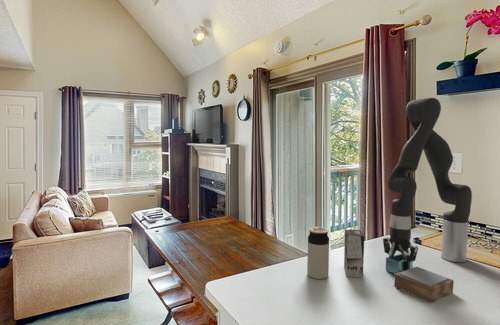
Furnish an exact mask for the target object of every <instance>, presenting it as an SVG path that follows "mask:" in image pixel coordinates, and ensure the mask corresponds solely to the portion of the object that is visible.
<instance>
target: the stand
mask: <svg viewBox="0 0 500 325" xmlns="http://www.w3.org/2000/svg"><path fill="white" fill-rule="evenodd" d="M393 284H394V287H395V288H398V289H400V290H401V291H404V292H406V293H408V292H409V293H408V294H411V295H413V296H415V297H417V298H418V299H422V300H423V301H427V302H429V303H431V304H432V303H435V302H436V301H438V300H441V299H443V298H445V297H447V296H449V295H453V294H454V279H451V278H449V277H446V276H444V275H441V274H439V273H435V272H432V271H430V270H427V269H424V268H421V267H419V266H415V267H412V268H411V269H408V270H405V271H402V272H399V273H396V274H394V283H393Z"/></svg>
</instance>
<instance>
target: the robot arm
mask: <svg viewBox="0 0 500 325" xmlns="http://www.w3.org/2000/svg"><path fill="white" fill-rule="evenodd" d="M441 105H442V104H441V102H440V101H439V99H437V98H435V97H428V98H427V97H426V98H425V97H424V98H420V99H419V98H418V99H413V100H410V101H409V102H408V103H407V105H406V108H405V112H406V116H407V118H408V120H409V123H410V125H411V126H412V129H413V131H414V134H413V135H412V136H411V137H410V138H409V139H408V140H407V141H406V143H405V144H404V146H403V147H402V149H401V152H400V155H399V159H398V163H397V165H396V166H395V167H394V169H393V171H392V172H391V174H390V176H389V177H388V179H387V188H388V190H389V191H390V192H391V193H393V194H394V193H395V194H400V195H399V198H397V199H396V198H394V199H393V200H392V201H391V205H390V206H391V207H390V209H391V210H390V218H389V237H385V238H382V242H383V243H382V244H383V251H384V253H385V254H387V255H388V257H391V256H394V255H396V253H397V252H399V253H400V254H402V256H403V258H404V270H408V269H410V262H412V261H413V262H415V261H416V258H417V255H418V251H419V247H418V246H416V245H415V246H414V245H413V244H412V243H411V239H412V238H411V236H412V214H411V213H412V205H413V201H414V198H415V196H416V192H417V187H418V186H417V181H416V180H415V179H414V177H411V176H407V175H408V174H410V173H414V172H416V171H417V169H418V166H419V163H420V160H421V157H422V153H423V152H424V155H425V157H426V160H427V163H428V165H429V167H430V169H431V173H432V175H433V178H434V181H435V185H436V188H437V191H438V195H439V198H440V200H441V202H443V203H445V204H447V205H452V206H454V209H453V210H451V211H445V212H444V213H443V214H442V234H441V236H442V237H441V254H440V255H441V256H440V257H441V259H444V260H446V261H450V262H453V263H454V262H455V263H465V262H467V254H468V233H469V218H470V214H471V205H472V199H473V193H472V189H471V187H470V186H469V185H466V184H459V183H452V181H451V180H450V175H449V172H450V170H451V167H452V165H453V162H454V156H453V152H452V150H451V148H450V145H449V144H448V143H449V142H448V141H447V140H446V139H444V138H443V137H442V136H441V135H440V134H439V133H437V132H436V131H435V130H434V127H435V126H436V124H437V122H438V119H439V117H440V115H441V110H442V106H441Z"/></svg>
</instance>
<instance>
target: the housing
mask: <svg viewBox="0 0 500 325" xmlns="http://www.w3.org/2000/svg"><path fill="white" fill-rule="evenodd" d="M413 262H414V261H412V262H410V269H411V268H413V264H414V263H413ZM385 270H386V271H387V272H389V273H392V274H394V275H395V274H396V273H399V272H402V271H405V270H404V258H403V256H402V254H401V253H398V254H395V255H394V256H391V257H389V256H388V257H386V258H385Z"/></svg>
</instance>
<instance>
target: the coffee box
mask: <svg viewBox="0 0 500 325" xmlns="http://www.w3.org/2000/svg"><path fill="white" fill-rule="evenodd" d="M365 237H366V236H365V235H364V233H363V232H362V230H361V229H347V228H346V229H344V247H343V248H344V254H343V255H344V257H343V262H344V263H343V264H344V265H343V267H344V272H345V275H346V277H349V278H350V277H352V278H360V279H361V278H362V279H363V278H364V260H365V259H364V258H365V256H364V254H365Z"/></svg>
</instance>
